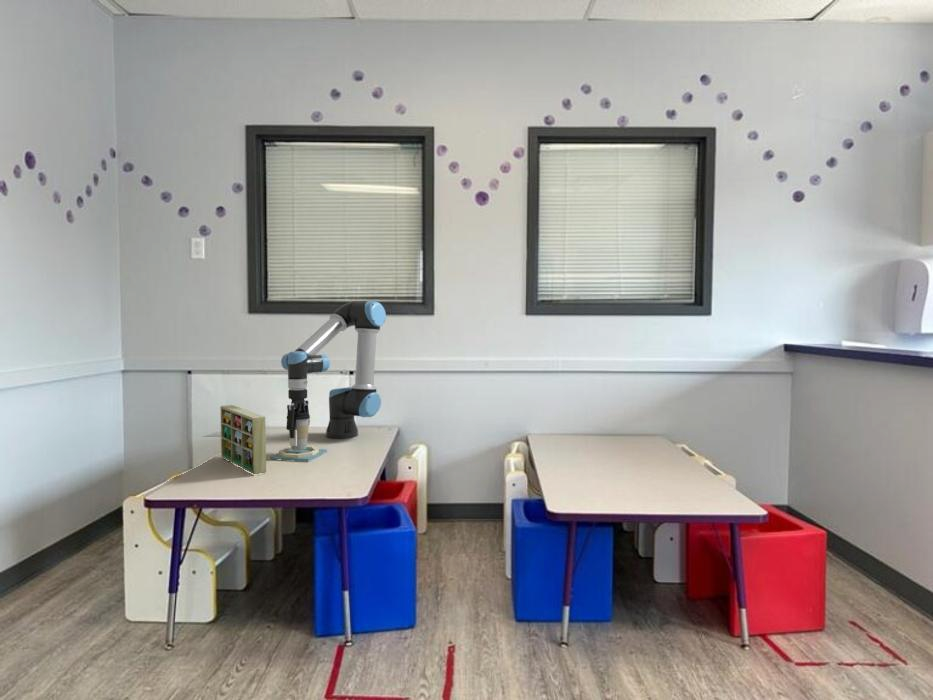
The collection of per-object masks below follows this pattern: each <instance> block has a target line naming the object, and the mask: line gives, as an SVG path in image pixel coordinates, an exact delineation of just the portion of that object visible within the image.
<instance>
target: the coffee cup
mask: <svg viewBox="0 0 933 700" xmlns="http://www.w3.org/2000/svg"><path fill="white" fill-rule="evenodd" d="M309 419H311V415H310V414H309V415H308V412H304V413H302V412H300V413H299V414H297V415H296V414H294V420H296V429H295V430H297V446H290V447H291V448H292V450H304V449H306V447H307V446H308V445H307V444H308V437H309V428H310V423H309ZM288 432H289V434H288V435H289V436H290V430H288Z"/></svg>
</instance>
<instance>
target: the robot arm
mask: <svg viewBox="0 0 933 700" xmlns="http://www.w3.org/2000/svg"><path fill="white" fill-rule="evenodd" d="M386 313H387V312H386V310H385V307H384V306H383V305H382V303H380V302H378V301H372V300H365V301H362V300H360V301H354V300H353V301H350V302H347V303H345V304H343V305H342V306H340V307H339V308H337V309H335V311H333V312H332V313H331V314H330V315H329V318H328V320H326V322H325V323H323V325H322V326H321V327H319V329H317V330H316V331H315V332H314V333H313V334H312V335H311V336H309V338H307V339H306V340H305V341H304V342H302V344H301V345H299V347H298V348H296V349H295V350H294V351H290V352H288V353H285V354H283V355H282V357H281V360H280V364H281V367H282V368H283V369H284V370H285V371H287V383H288V384H287V387H288V388H287V389H288V390H287V393H288V399H289V400H291V403H290V404H287V406H286V409H287V413H286V430H287V431H289V430H290V435H289V447H291V446H297V430H295V429H296V420H294V414H296V415H297V414H299V413H300V412H302V413H304V412H308V415H310V413H309V412H310V411H309V400H306V399H307V398H308V389H307V387H308V374H315V373H323V372H327V371H328V370H329V368H330V366H331V362H330V359H329V356H327V355H326V354H320V353H319V352H320V351H322V349H324V348H325V347H326V346H327V345H328V344H329V343H330V342H331V341H332V340H333V339H334V338H336V336H337V335H338V334H340V332H344V331H346V329H348V328H350V327H353V326H354V331H355V332H357V344H356V362H355V363H356V365H355V377H354V379H355V380H354V381H355V382H354V384H353V385H352V386H350V387H349V386H347V387H340V388H339V387H337V388H332V389H331V390H330V391H329V392H328V393H329V394H328V407H329V420H328V421H329V422H328V424H327V428H326V429H325V437H326V436H327V438H329V437H330V439H348V437H351V438H355V437H358V436H359V429H358V426H357V423H356V421H355V417H361V418H372V417H374V416H375V415H377V413H378V412H379V410H380V409H381V406H382V405H381V404H382V398H381V396H380V394H379V393H377V387H376V386H375V385H374V382H375V362H376V349H377V347H376V346H377V334H378V333H379V332H380V331H381V327H382V326H383V325H384V324H385V322H386V319H387V314H386ZM310 419H311V418H309V424H310V422H311V421H310ZM354 436H355V437H354Z"/></svg>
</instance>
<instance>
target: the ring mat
mask: <svg viewBox="0 0 933 700" xmlns="http://www.w3.org/2000/svg"><path fill="white" fill-rule="evenodd" d="M325 452H326V453H327V452H328V449H327V448H319V447H316V446H311V445H307V447H306V449H304V450H292V448H291V446H289V447H285V448H283V449H280V450H278V452H277V453H275V454H273V455H270V456H269V460H270V459H281V460H294V461H293V462H299V461H306V462H305V463H309V462H311V461H313V460H315V459H317V458H319V457H321V456H322V454H323V453H324V454H326V453H325ZM324 454H323V455H324ZM320 455H321V456H320ZM318 456H319V457H318ZM316 457H317V458H316ZM281 460H280V461H281Z"/></svg>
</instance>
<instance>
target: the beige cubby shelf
mask: <svg viewBox="0 0 933 700" xmlns="http://www.w3.org/2000/svg"><path fill="white" fill-rule="evenodd" d="M219 409H220V449H221V450H220V452H221V453H220V454H221V458H222V457H223V458H225V459H227V460H229V461H230V462H232V463H234V464H236V465H238V466H240V467H242V468H243V469H245V470H247V471H249V472H251V473H253V474H259V473H265V472H266V473H267V443H266V442H267V441H266V434H267V433H266V432H267V431H266V416H263V415H260V414H259V413H255V412H253V411H250V410H248V409H246V408H245V409H244V408H241V407H240V406H239V407H238V406H235V405H232V404H229V405H226V404H225V405H221V406H220V407H219ZM223 458H222V459H223ZM230 462H229V463H230Z"/></svg>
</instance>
